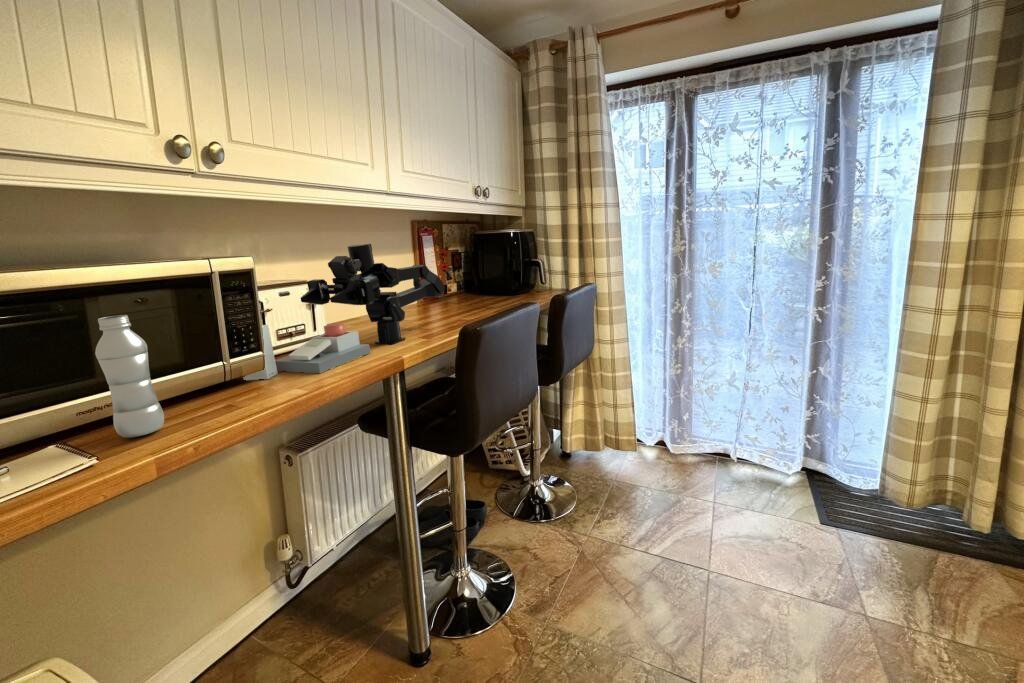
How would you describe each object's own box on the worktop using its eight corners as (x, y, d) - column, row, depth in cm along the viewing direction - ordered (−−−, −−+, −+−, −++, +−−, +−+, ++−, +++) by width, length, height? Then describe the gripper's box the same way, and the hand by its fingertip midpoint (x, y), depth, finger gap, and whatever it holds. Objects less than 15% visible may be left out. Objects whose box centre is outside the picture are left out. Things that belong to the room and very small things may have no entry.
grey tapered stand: (278, 374, 111) (269, 324, 108) (267, 379, 107) (257, 328, 104) (254, 375, 112) (244, 325, 109) (242, 381, 108) (232, 329, 105)
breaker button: (335, 336, 126) (333, 323, 125) (350, 336, 124) (348, 323, 124) (321, 340, 122) (319, 327, 121) (336, 340, 120) (334, 327, 119)
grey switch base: (329, 352, 130) (325, 330, 129) (370, 353, 125) (367, 331, 124) (275, 371, 114) (271, 346, 113) (320, 373, 109) (315, 348, 108)
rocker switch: (313, 343, 120) (311, 338, 119) (331, 343, 118) (329, 339, 117) (290, 359, 113) (288, 354, 113) (309, 360, 111) (307, 355, 110)
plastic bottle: (115, 436, 79) (83, 319, 75) (164, 423, 84) (136, 312, 80) (120, 446, 75) (85, 322, 70) (171, 431, 79) (141, 314, 75)
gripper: (325, 256, 126) (278, 267, 113) (382, 253, 119) (339, 265, 106) (334, 296, 130) (289, 312, 116) (390, 296, 123) (349, 313, 109)
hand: (315, 300), depth 112 cm, fingers open, 9 cm apart
